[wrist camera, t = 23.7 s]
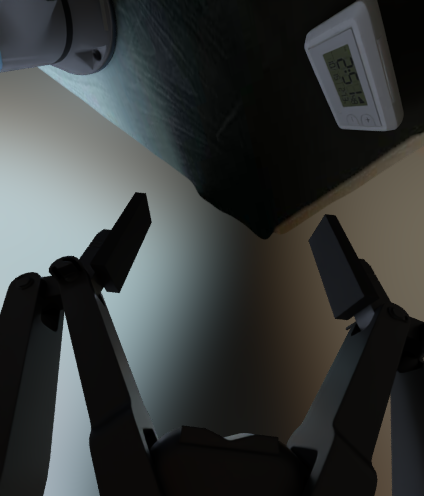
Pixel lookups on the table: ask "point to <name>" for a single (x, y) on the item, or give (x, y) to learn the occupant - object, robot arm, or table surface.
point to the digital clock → (356, 68)
